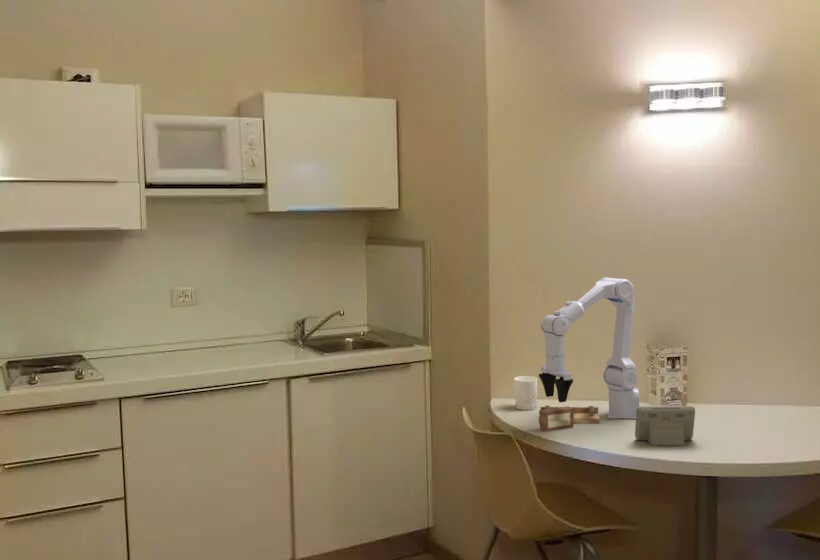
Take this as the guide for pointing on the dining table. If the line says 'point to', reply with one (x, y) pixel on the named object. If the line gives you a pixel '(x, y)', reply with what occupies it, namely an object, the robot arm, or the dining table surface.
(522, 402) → the white cup
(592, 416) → the wooden stand base
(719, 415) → the dining table surface
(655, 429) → the digital clock
